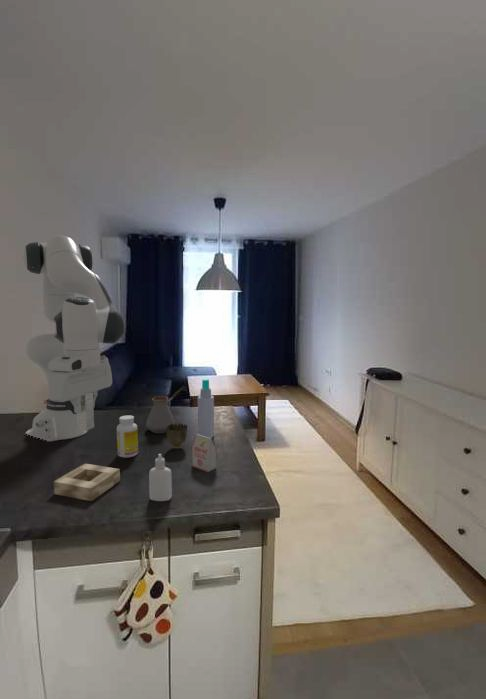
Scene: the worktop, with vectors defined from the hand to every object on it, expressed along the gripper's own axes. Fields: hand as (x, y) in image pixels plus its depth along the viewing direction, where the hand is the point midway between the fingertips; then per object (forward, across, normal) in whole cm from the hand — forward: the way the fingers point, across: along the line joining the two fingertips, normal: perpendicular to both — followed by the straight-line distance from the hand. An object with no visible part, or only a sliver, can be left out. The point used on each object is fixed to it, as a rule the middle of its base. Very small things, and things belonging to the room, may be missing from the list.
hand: (84, 410), depth 104 cm
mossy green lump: (+22, -33, +10) cm, 41 cm away
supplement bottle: (+22, -23, -3) cm, 32 cm away
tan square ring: (+22, 0, 0) cm, 22 cm away
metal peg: (+5, 0, 0) cm, 5 cm away
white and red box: (+22, -22, +25) cm, 40 cm away
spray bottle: (+22, -47, +15) cm, 54 cm away
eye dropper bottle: (+22, -1, +22) cm, 31 cm away
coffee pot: (+22, -53, -4) cm, 58 cm away
